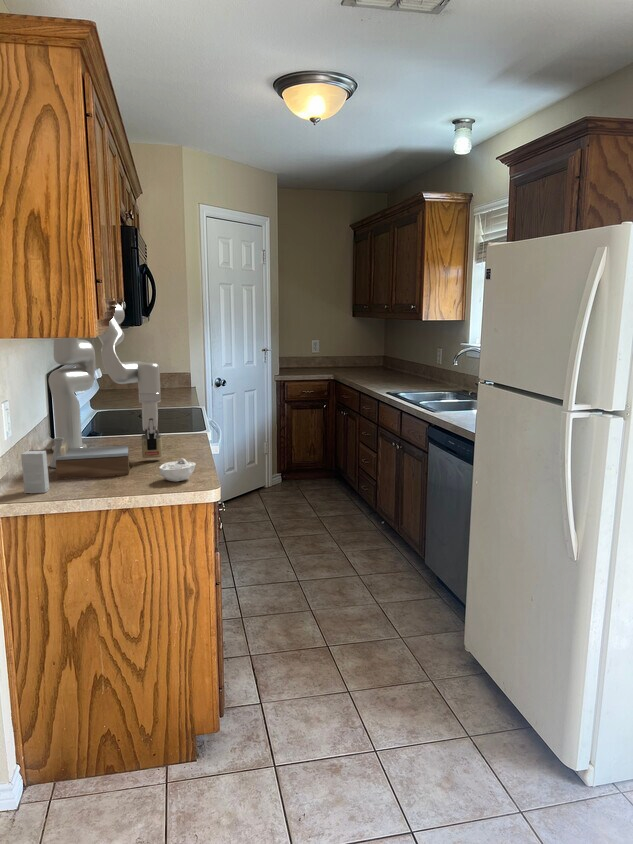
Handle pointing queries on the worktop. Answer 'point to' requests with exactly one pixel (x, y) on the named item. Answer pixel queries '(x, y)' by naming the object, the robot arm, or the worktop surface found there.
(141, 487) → the worktop surface
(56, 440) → the flask
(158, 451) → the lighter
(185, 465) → the cell model
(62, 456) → the lid
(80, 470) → the wooden box
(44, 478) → the skincare box
